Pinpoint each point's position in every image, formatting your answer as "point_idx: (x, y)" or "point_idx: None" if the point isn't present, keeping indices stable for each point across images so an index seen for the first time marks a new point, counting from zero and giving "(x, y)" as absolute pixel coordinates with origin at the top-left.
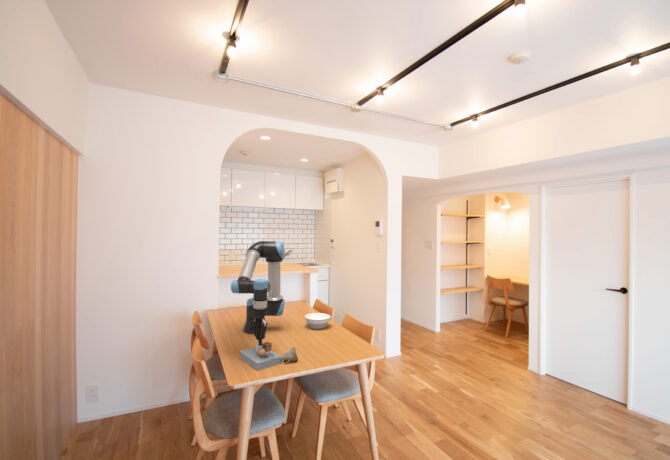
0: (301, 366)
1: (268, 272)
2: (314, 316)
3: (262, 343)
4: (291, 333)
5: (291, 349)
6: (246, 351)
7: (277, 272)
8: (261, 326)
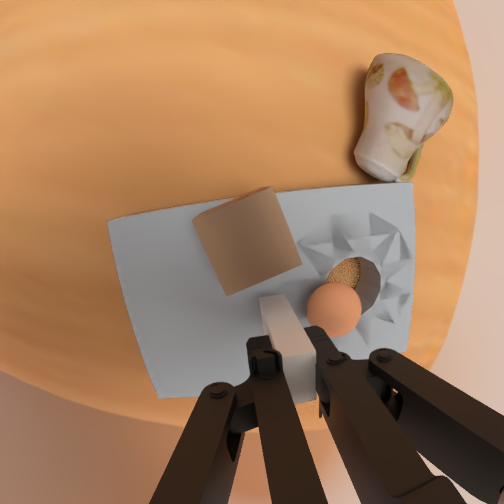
0: (456, 123)
1: None
2: None
3: (226, 284)
4: (12, 2)
5: (443, 105)
6: (183, 369)
7: None
8: (482, 496)
